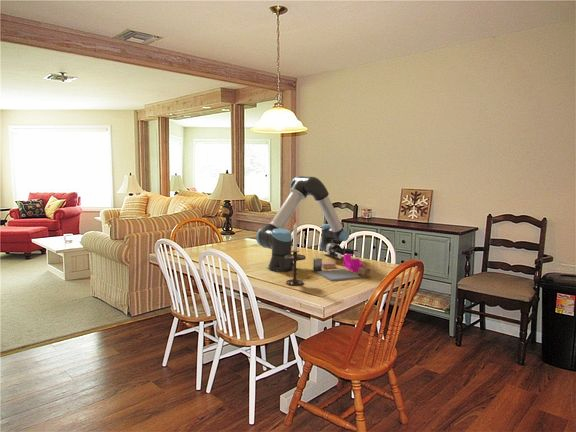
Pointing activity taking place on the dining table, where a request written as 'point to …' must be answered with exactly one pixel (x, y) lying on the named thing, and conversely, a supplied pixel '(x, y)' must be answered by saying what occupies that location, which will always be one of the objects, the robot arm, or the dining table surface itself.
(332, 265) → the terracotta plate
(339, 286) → the dining table surface
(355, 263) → the toy block
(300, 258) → the candlestick
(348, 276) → the slate mat
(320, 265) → the metal peg
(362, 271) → the walnut cube
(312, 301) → the dining table surface
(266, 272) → the dining table surface
